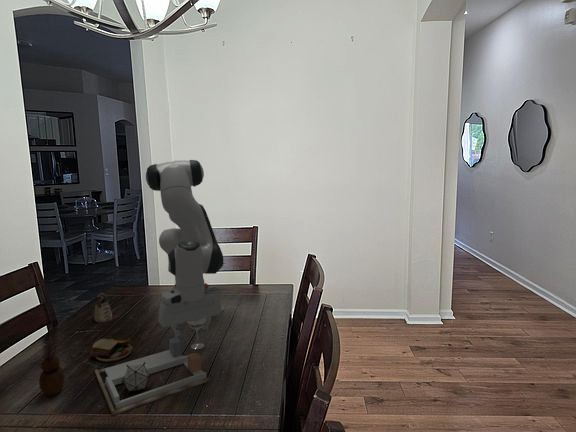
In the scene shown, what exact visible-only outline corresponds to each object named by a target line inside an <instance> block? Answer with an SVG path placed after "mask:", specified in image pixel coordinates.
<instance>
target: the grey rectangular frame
mask: <svg viewBox="0 0 576 432" xmlns="http://www.w3.org/2000/svg"><path fill="white" fill-rule="evenodd" d="M201 359H202V357H201V356H200V355H199V354H198V353H197V352H193V353H189V354H187V355H183V357H180V358H177V359H174V360H170V361H167V362H164V363H160V364H157V365H154V366H151V367H147V368H146V369H147V371H148V373H149V374H150V373H151V375H152V374H155V373H159V372H160V371H164V370H167V369H171V368H173V367H177V366H180V365H184V367H186V369H187V370H188V371H189V372H190V373H191V374H192V376H189V377H186V378H182V379H180V380H177V381H174V382H171V383H167V384H165V385H162V386H159V387H156V388H153V389H150V390H146V391H144V392H142V393H139V394H136V395H133V396H130V397H127V398H125V399H121V400H120V394H119V393H118V391H117V388H116V385H117V386H118V385H120V384H123V383H124V382H121V381H122V380H123V378H124V377H125V375H126V374H125V375H121V376H118V377H115V378H112V379H111V377H110V376H109V377H107V376H106V377H105V382H104V383H106V386H105V388H106V390H107V392H108V395H109V397H110V399H111V402H112V404H113V407H114V409H115V410H118V409H121V408H123V407H126V406H129V405H132V404H135V403H138V402H140V401H143V400H146V399H149V398H152V397H155V396H158V395H160V394H163V393H166V392H169V391H172V390H175V389H177V388H180V387H183V386H186V385H189V384H192V383H194V382H197V381H200V380H203V379H206V378H207V372H206V371H203V370H202V360H201Z"/></svg>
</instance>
